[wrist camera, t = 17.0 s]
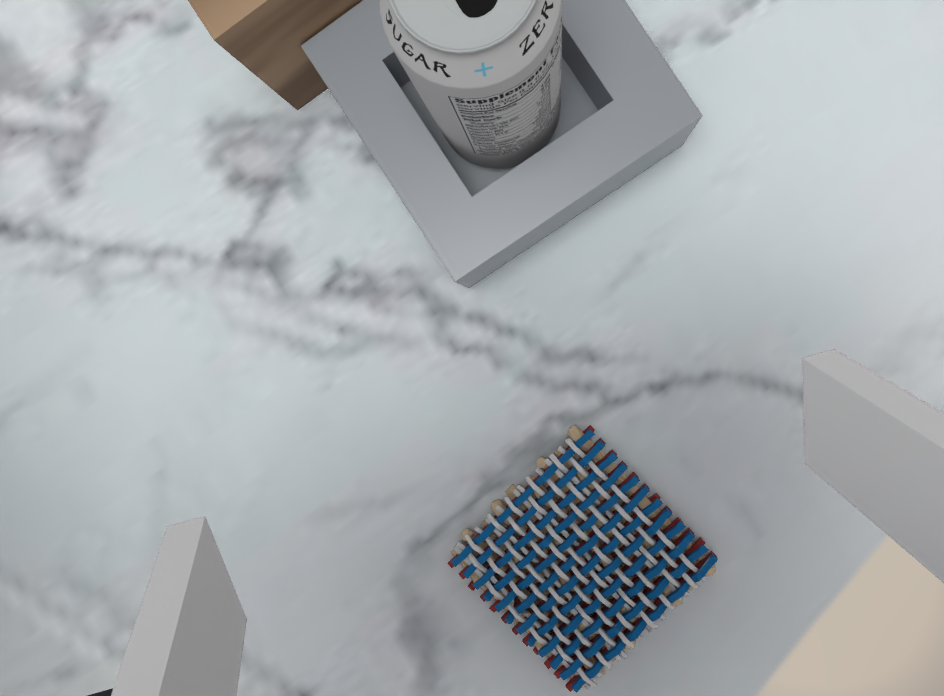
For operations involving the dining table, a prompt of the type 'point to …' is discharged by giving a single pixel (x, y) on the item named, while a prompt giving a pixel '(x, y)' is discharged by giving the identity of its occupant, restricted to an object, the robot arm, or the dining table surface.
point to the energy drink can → (483, 71)
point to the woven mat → (582, 560)
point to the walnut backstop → (273, 39)
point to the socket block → (539, 177)
